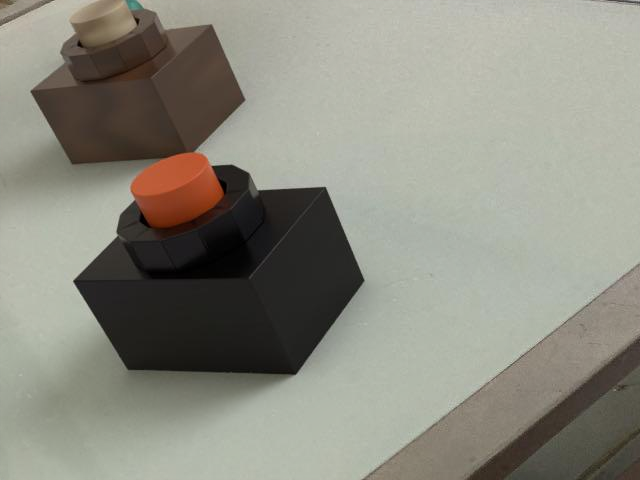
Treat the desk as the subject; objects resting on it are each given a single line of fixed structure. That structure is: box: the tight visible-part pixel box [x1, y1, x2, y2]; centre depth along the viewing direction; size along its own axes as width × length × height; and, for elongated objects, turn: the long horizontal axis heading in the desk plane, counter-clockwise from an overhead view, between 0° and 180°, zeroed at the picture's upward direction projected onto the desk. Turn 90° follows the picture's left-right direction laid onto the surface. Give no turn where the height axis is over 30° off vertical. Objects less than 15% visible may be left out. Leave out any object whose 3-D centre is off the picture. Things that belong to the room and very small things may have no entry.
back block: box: [29, 8, 246, 165], centre depth 82 cm, size 11×8×8 cm
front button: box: [129, 151, 224, 228], centre depth 57 cm, size 4×4×2 cm
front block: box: [72, 163, 365, 376], centre depth 59 cm, size 11×8×8 cm
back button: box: [68, 0, 137, 48], centre depth 79 cm, size 4×4×2 cm
